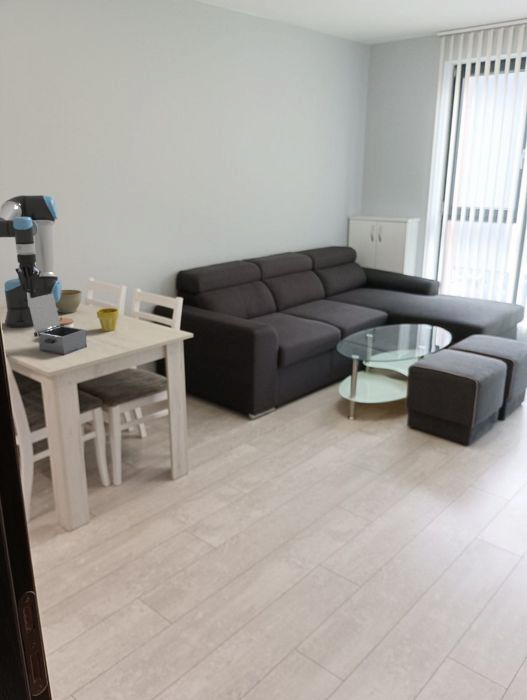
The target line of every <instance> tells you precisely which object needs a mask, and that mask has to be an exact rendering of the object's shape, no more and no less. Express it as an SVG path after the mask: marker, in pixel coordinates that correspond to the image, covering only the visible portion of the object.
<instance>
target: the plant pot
mask: <svg viewBox="0 0 527 700" xmlns="http://www.w3.org/2000/svg"><path fill="white" fill-rule="evenodd" d="M119 311H120V310H119V309H117V308H115V307H105V308H100V309H99V308H98V309H97V310H96V315H97V318H98V320H99V324H100V327H101V329H102V331H104V332H111V331H112V332H113V331H115V330H116V329H117V325H118V318H119V317H120V312H119Z"/></svg>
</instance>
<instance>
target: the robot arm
mask: <svg viewBox="0 0 527 700" xmlns="http://www.w3.org/2000/svg"><path fill="white" fill-rule="evenodd" d="M58 216H59V215H58V208H57V206H56V200H55V199H54V197H53V196H51V195H25V194H23V195H17V196H14V197H11V198H9V199H7V200H6V201H4V202H3V203H2V204H1V206H0V238H14V241H15V248H16V250H15V251H16V253H17V255H16V259H17V263H18V264H19V265H18V268H15V271H16V274H17V278H16V277H15V278H12V279H9V280H6V281H5V282H4V295H5V301H6V315H5V319H4V324H5V327H8V326H9V327H8V328H26V327H31V326H34V325H33V320H32V316H31V312H30V308H29V304H28V300H27V299H30V298H35V297H39V296H43V295H47V294H51V293H53V295H54V299H55V303H57V302H58V301H59V300H60V297H61V290H62V288H63V287H62V281H61V279H58V278H59V277H58V275H57V274H56V273H55V263H54V262H55V261H54V259H55V258H54V244H53V243H54V242H53V225H54V224H55V222H56V221H55V220H58V218H59V217H58Z"/></svg>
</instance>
